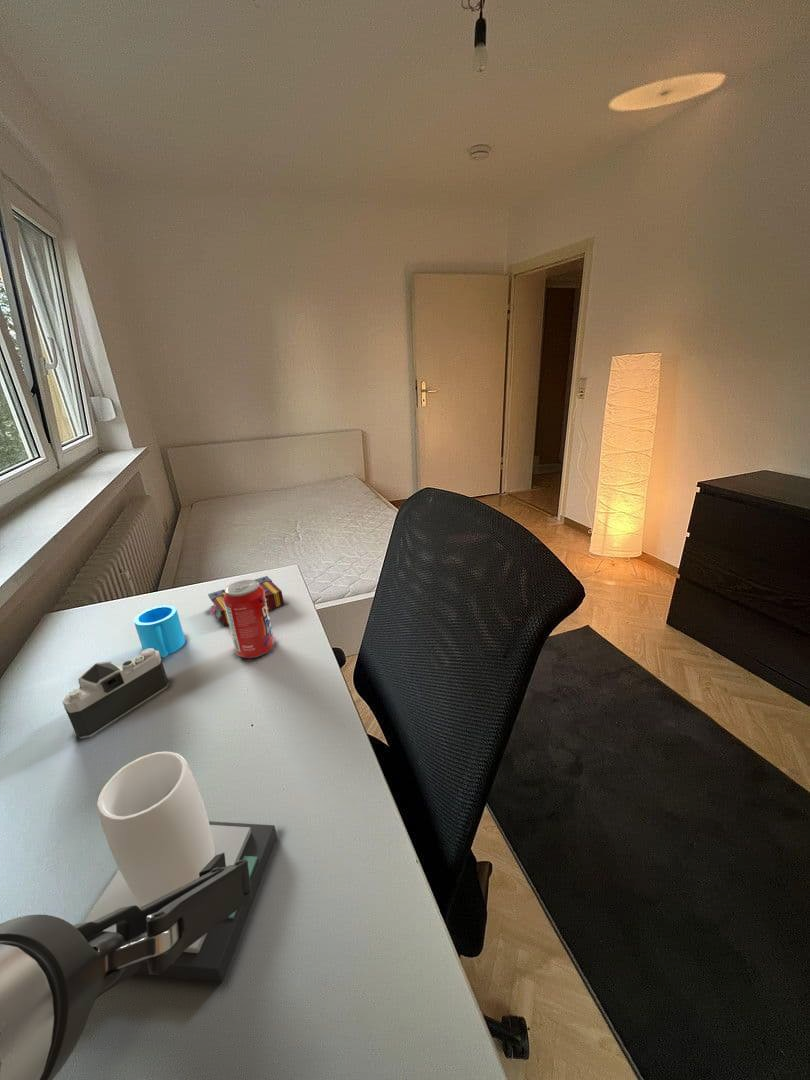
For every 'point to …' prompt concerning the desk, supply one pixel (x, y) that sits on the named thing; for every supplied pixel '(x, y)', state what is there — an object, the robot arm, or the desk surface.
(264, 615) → the soda can
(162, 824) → the cup
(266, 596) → the decorative book
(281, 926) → the desk surface
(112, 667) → the camera
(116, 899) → the scale
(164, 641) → the mug
